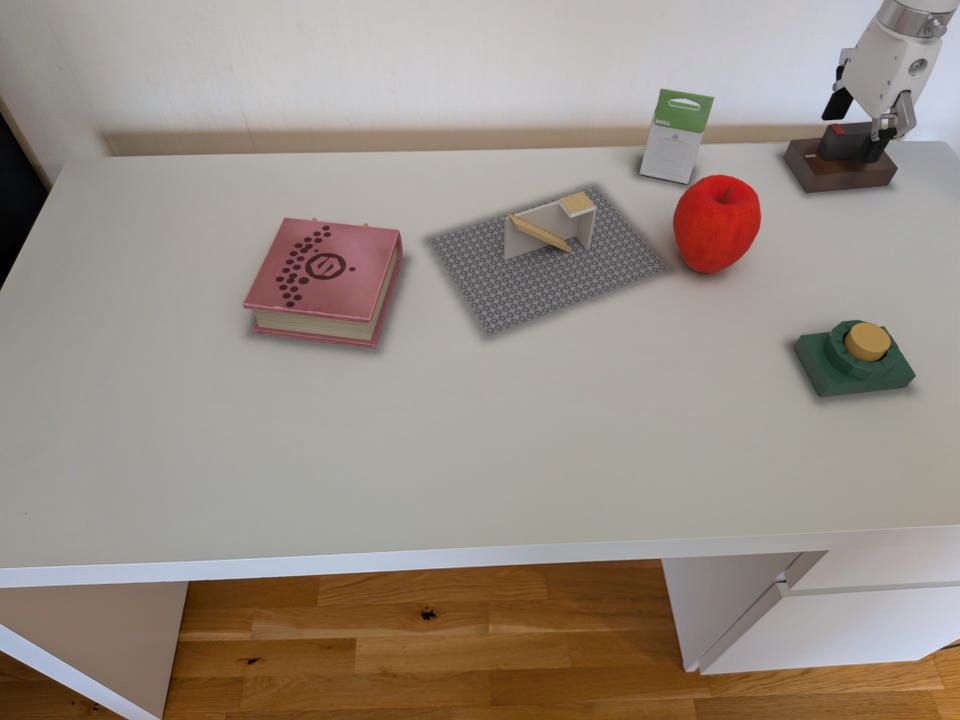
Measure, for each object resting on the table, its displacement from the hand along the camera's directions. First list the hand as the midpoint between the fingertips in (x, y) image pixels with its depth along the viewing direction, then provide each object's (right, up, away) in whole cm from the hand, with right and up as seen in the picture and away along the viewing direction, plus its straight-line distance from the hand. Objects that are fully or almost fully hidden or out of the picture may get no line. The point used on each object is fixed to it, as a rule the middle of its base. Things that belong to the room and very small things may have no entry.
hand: (847, 140), depth 93 cm
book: (-68, -22, -10) cm, 72 cm away
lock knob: (0, -1, +2) cm, 2 cm away
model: (-42, -17, -6) cm, 45 cm away
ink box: (-24, -3, +4) cm, 24 cm away
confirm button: (-9, -29, -20) cm, 36 cm away
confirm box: (-9, -31, -17) cm, 36 cm away
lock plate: (0, -3, +4) cm, 5 cm away
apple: (-22, -18, -7) cm, 29 cm away
